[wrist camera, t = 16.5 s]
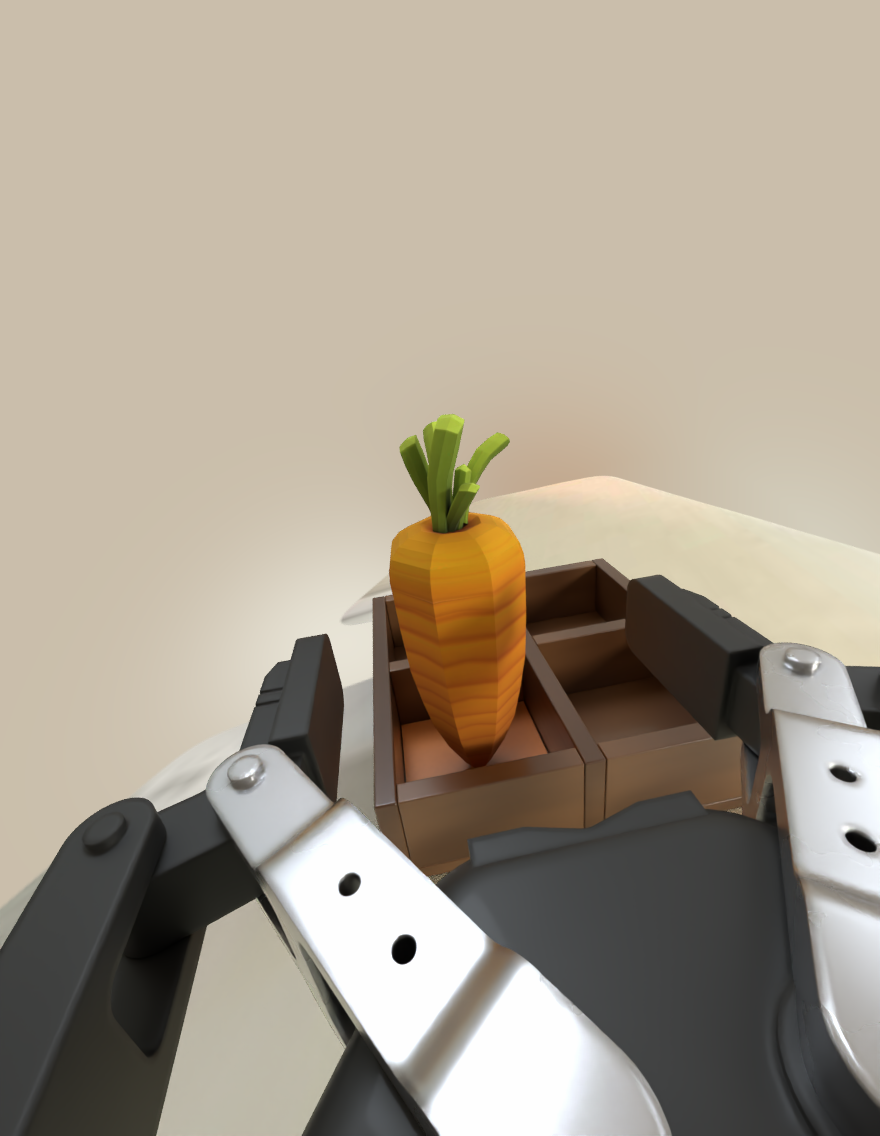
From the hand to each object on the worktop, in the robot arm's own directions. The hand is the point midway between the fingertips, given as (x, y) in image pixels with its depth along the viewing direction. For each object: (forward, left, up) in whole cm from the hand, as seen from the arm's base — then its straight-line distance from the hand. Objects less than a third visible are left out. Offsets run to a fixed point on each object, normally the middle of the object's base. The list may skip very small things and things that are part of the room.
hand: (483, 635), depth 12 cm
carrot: (0, +5, -10) cm, 11 cm away
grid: (+4, +8, -10) cm, 14 cm away
